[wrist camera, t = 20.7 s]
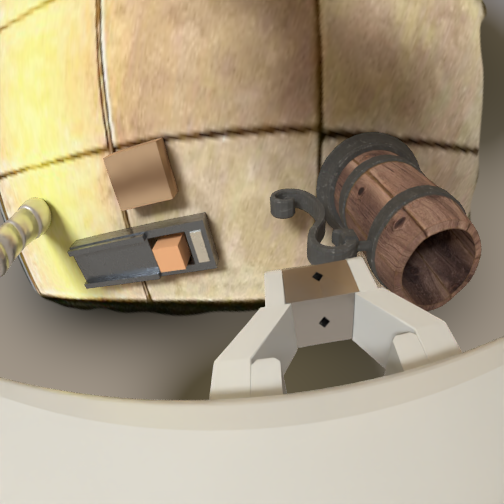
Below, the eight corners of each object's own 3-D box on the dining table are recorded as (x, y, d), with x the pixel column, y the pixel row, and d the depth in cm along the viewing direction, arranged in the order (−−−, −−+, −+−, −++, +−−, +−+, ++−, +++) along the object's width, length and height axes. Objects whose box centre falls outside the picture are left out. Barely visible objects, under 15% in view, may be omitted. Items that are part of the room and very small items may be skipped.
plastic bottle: (55, 197, 40) (-23, 265, 23) (56, 231, 43) (-10, 305, 27) (28, 190, 39) (-48, 252, 22) (31, 223, 43) (-36, 290, 26)
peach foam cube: (152, 249, 41) (177, 245, 40) (159, 236, 44) (183, 231, 44) (161, 272, 43) (185, 269, 42) (167, 257, 46) (190, 254, 46)
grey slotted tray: (76, 240, 44) (66, 251, 41) (205, 212, 42) (201, 223, 39) (94, 277, 49) (87, 289, 46) (218, 258, 46) (216, 272, 43)
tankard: (427, 137, 35) (522, 187, 18) (411, 238, 43) (473, 323, 27) (265, 130, 36) (276, 176, 19) (270, 244, 45) (278, 349, 28)
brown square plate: (112, 152, 37) (103, 158, 34) (162, 137, 36) (155, 141, 33) (129, 202, 41) (121, 211, 38) (178, 190, 40) (172, 198, 37)
